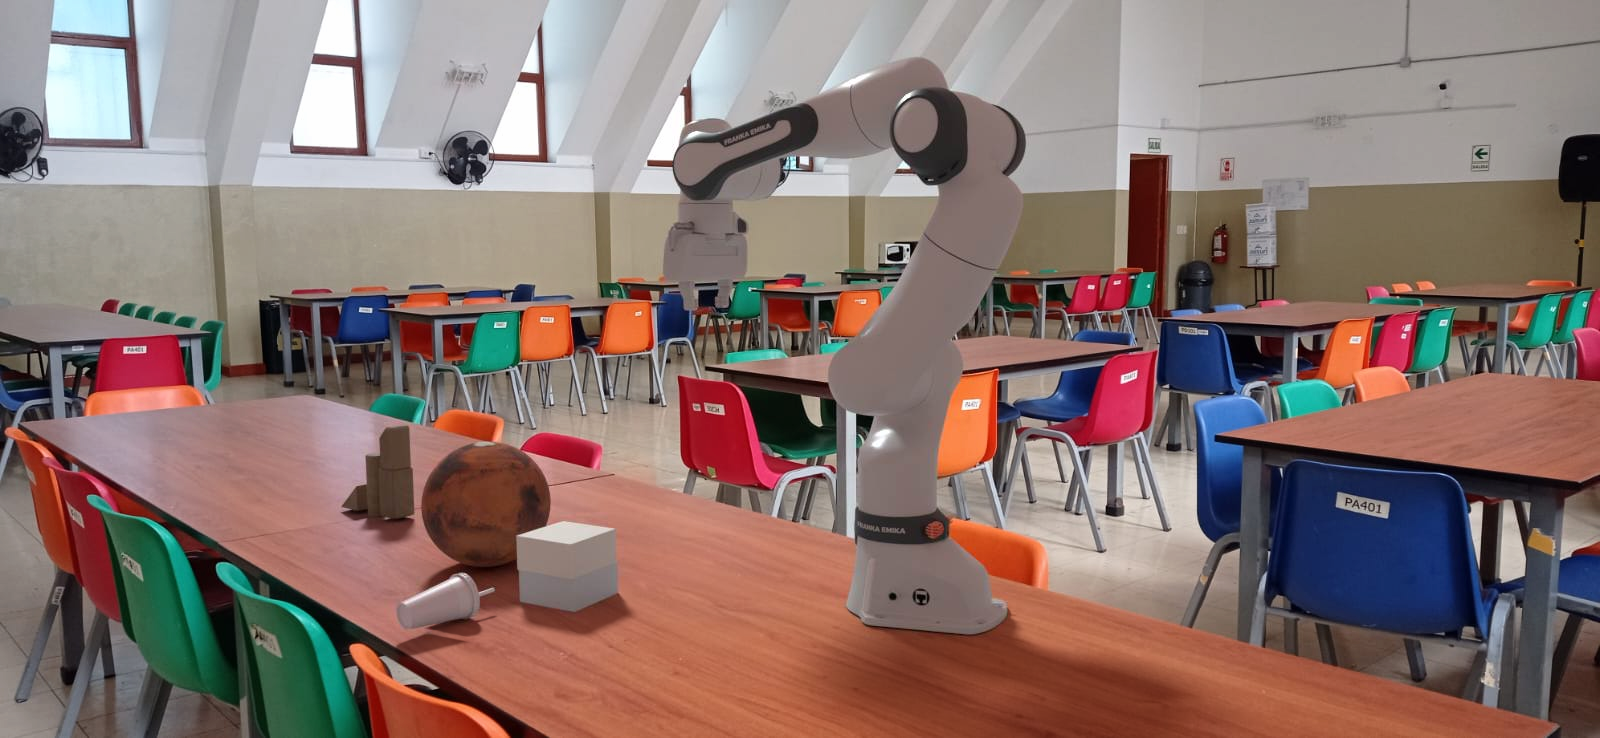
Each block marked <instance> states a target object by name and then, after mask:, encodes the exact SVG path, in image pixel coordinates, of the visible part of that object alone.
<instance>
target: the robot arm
mask: <svg viewBox="0 0 1600 738" xmlns="http://www.w3.org/2000/svg"><path fill="white" fill-rule="evenodd" d="M678 141H679V142H678V145H677V148H676V150H675V152H674V154H673V157H672V174H673V178H674V180H675V182H676V184H677V187H678V188H679V189H680V190H679V191H680V192H679V197H678V200H677V210H678V211H677V214H678V215H677V221H675V222H674V223H672V226H670V228H669V229H668V231H667V236H666V238H665V242H664V249H663V260H662V261H663V262H662V263H663V265H662V275H663V277H664V279H665V281H666V282H671V283H672V282H673V283H678V290H679V292H680V294H681V297H682V299H683V309H684V311H697V310H698V308H699V305H698V304H699V298H696V296H695V293H694V289H695V288H696V287H695V283H696V282H701V281H702V282H703V281H704V282H705V281H717V287H719V288H718V292H717V296H715V297H714V305H715V308H719V309H720V308H722V309H724V308H728V307H729V305H730V302H729V301H730V299H729V298H730V294H731V293H732V289H733V287H734V283H733V282H734V280H743V279H744V278H745V276H746V274H747V269H748V240H747V238H746V237H745V235H747V234H748V233H749V222H748V220H746V219H744V218H742V217H741V216H740V215H739V214H737V212H735V211H734V203H733V201H747V202H748V201H749V202H750V201H753V202H754V201H755V202H756V201H761V200H764V199H767V198H769V197H771V196H772V195H773V193H775V191H776V190H777V189H778V187H779V184H780V182H781V178H782V173H783V171H782V160H781V159H785V158H794V157H797V158H798V157H806V158H807V157H811V158H812V157H813V158H825V159H837V160H838V159H839V160H840V159H841V160H843V159H844V160H846V159H847V160H848V159H856V158H863V157H867V156H871V155H875V154H878V153H881V152H884V151H885V150H889V149H890V148H893V149H894V151H895V153H896V154H897V156H898V157H899V158H900V159H901V160H902V161H903V162H904V163H905V164H906V165H907V166H908V167H909V168H910V169H912V170H913V172H914V173H915V174H916V176H917V177H918V178H919V180H920V181H921V183H922V184H924V185H925V186H929V187H930V186H937V190H938V200H937V204H936V206H935V209H934V211H933V214H932V215H931V217H930V219H929V221H928V223H927V225H926V227H925V229H924V230H923V232H922V235H921V237H920V238H919V240H918V242H917V244H916V247H914V250H913V252H912V254H911V256H910V258H909V260H908V261H907V264H906V266H905V267H904V269H903V271H902V274H901V276H900V277H899V279H898V280H897V282H896V283H895V285H894V286H893V288H892V289H891V291H890V292H889V293H888V294H887V296H886V297H885V299H884V300H883V301H882V302H881V304H879V306H878V308H877V309H876V310H875V311H874V312H873V313H872V315H871V316H870V318H869V319H868V320H867V321H866V322H865V324H864V325H863V327H861V329H860V330H859V331H858V333H857V334H856V335H854V337H853V338H851V340H849V341H848V342H847V343H846V344H844V346H841V347H840V348H839V349H838V351H836V352H835V354H834V355H833V357H832V359H831V361H830V362H829V366H828V371H827V380H828V381H827V383H828V387H829V390H830V393H831V395H832V397H833V399H834V400H835V402H836V403H837V404H838V405H839V406H840V407H841V408H842V409H844V410H846V411H848V412H849V413H852V414H857V415H862V416H868V417H869V416H870V417H873V420H872V424H871V426H870V427H871V428H870V430H869V433H868V435H867V437H866V439H865V441H864V442H863V443H862V445H861V447H860V450H859V452H858V457H857V460H858V461H857V506H856V507H855V509H854V521H853V523H854V525H853V527H854V528H853V529H854V530H853V531H854V543H855V545H856V549H855V550H856V551H855V559H854V566H853V567H854V569H853V575H852V580H851V585H850V588H849V593H848V596H847V599H846V603H845V605H846V608H847V609H848V610H849V612H852V613H853V614H855V615H856V616H858V617H859V618H860V619H861V622H862V623H863V624H865V625H868V626H875V627H887V628H895V629H896V628H897V629H907V630H916V631H918V630H919V631H926V632H927V631H929V632H939V633H948V634H949V633H950V634H952V633H953V634H962V635H976V634H980V633H984V632H988V631H989V630H991V629H994V628H995V627H997V626H998V625H1000V624H1001V623H1002V622H1003V621H1004V620H1005V619H1006V617H1007V615H1008V605H1007V603H1006V602H1005V600H1003V599H999V598H997V597H996V598H995V597H993V596H992V590H991V581H990V578H989V573H988V571H987V568H986V566H984V565H983V564H982V563H981V562H980V561H979V560H977V559H976V558H975V557H974V556H972V554H970V553H969V552H968V551H967V550H966V549H964V547H962V546H961V545H960V544H959V543H958V542H956V541H955V540H954V539H953V538H952V537H950V525H951V524H952V523H953V522H954V521H953V517H954V515H953V514H949V515H948V516H947V515H945V514H944V513H943V512H942V511H941V510H940V509H939V508H938V507H937V505H938V502H937V500H938V499H937V498H938V497H937V496H938V464H939V463H938V462H939V452H940V445H941V439H942V435H943V431H944V426H945V422H946V418H947V413H948V410H949V405H950V402H951V399H952V396H953V394H954V392H955V390H956V388H957V387H958V385H959V383H960V381H961V379H962V377H963V372H964V362H963V361H964V360H963V357H962V354H961V352H960V349H959V348H958V346H957V345H956V343H955V342H954V341H953V340H952V339H953V338H954V336H955V335H956V334H957V333H958V332H959V331H960V330H961V329H963V328H964V327H965V326H966V325H967V324H968V323H969V322H970V321H971V320H972V318H973V317H974V315H975V313H976V311H977V309H978V308H979V306H980V304H981V302H982V300H983V298H984V296H985V295H986V292H987V291H988V289H989V287H990V285H991V284H992V282H993V279H994V278H995V276H996V274H997V272H998V270H999V269H1000V266H1001V265H1002V263H1003V260H1004V259H1005V257H1006V255H1007V253H1008V250H1009V248H1010V247H1011V243H1012V241H1013V239H1014V236H1015V233H1016V232H1017V231H1016V230H1017V227H1018V226H1019V225H1018V224H1019V223H1020V219H1021V215H1022V211H1023V209H1024V208H1023V207H1024V196H1023V194H1022V192H1021V191H1022V190H1021V189H1020V188H1019V187H1018V185H1017V184H1016V183H1015V181H1013V180H1012V179H1011V178H1010V177H1009V176H1011V175H1012V174H1013V173H1014V172H1015V171H1016V170H1017V169H1018V168H1019V166H1020V165H1021V163H1022V161H1023V159H1024V156H1025V153H1026V147H1027V139H1026V133H1025V130H1024V127H1023V126H1022V124H1021V122H1020V121H1019V120H1018V119H1017V117H1015V115H1013V114H1012V113H1011V112H1009V111H1008V110H1007V109H1006V108H1004V107H1002V106H999V105H996V104H993V103H990V102H988V101H985V100H983V99H981V97H978V96H976V95H972V94H970V93H967V92H960V91H956V90H950V89H949V87H948V84H947V79H946V77H945V75H944V74H943V72H942V71H941V69H940V67H938V65H936V64H935V63H934V62H933V61H932V60H930V59H927V58H924V57H922V56H911V57H907V58H903V59H898V60H894V61H890V62H886V63H885V64H881V65H879V66H876V67H874V68H870V69H869V70H866V71H863V72H861V73H859V74H857V75H855V76H853V77H851V78H849V79H847V80H845V81H842V82H841V83H838V84H836V85H834V86H832V87H830V88H828V89H825V90H824V91H821V92H819V93H817V94H815V95H812V96H810V97H808V98H805V99H802V100H800V101H798V102H797V103H796V102H795V103H794V104H791V105H790V106H786V107H784V108H781V109H778V110H776V111H773V112H770V113H768V114H765V115H762V116H759V117H757V118H754V119H752V120H749V121H747V122H743V123H741V124H739V125H736V126H734V127H732V126H731V125H730V123H729V122H727V120H724V119H721V118H714V117H713V118H703V119H701V118H700V119H695V120H693V121H691V122H688V123H687V124H685V125H684V126H683V127H682V129H681V132H680V135H679V140H678Z"/></svg>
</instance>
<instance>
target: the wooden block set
mask: <svg viewBox="0 0 1600 738" xmlns="http://www.w3.org/2000/svg"><path fill="white" fill-rule="evenodd" d="M410 436H411V434H410V426H409V425H407V424H398V425H392V426H387V427H385V428H384V430H383V432H381V434H380V435H379V438H378V439H379V440H378V441H379V452H373V453H368V454H365V476H366V484H361V485H360V484H359V485H356V486H355V488H354V489H353V490H352V492H351V493H350V494H349V495H348V497H347V498H346V500H344V502H343V504H342V505H341V506H340V507H341V508H344V509H348V510H352V511H357V512H358V511H364V510H367V517H368V516H369V517H368V518H371V517H377V518H380V517H379V516H383V518H384V517H385V518H388V519H392V520H397V519H402V518H405V517H406V518H407V517H411V516H414V515H415V495H414V494H415V493H414V492H415V491H414V489H415V488H414V487H415V486H414V470H413V469H414V468H413V467H411V466H412V461H411V437H410Z"/></svg>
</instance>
